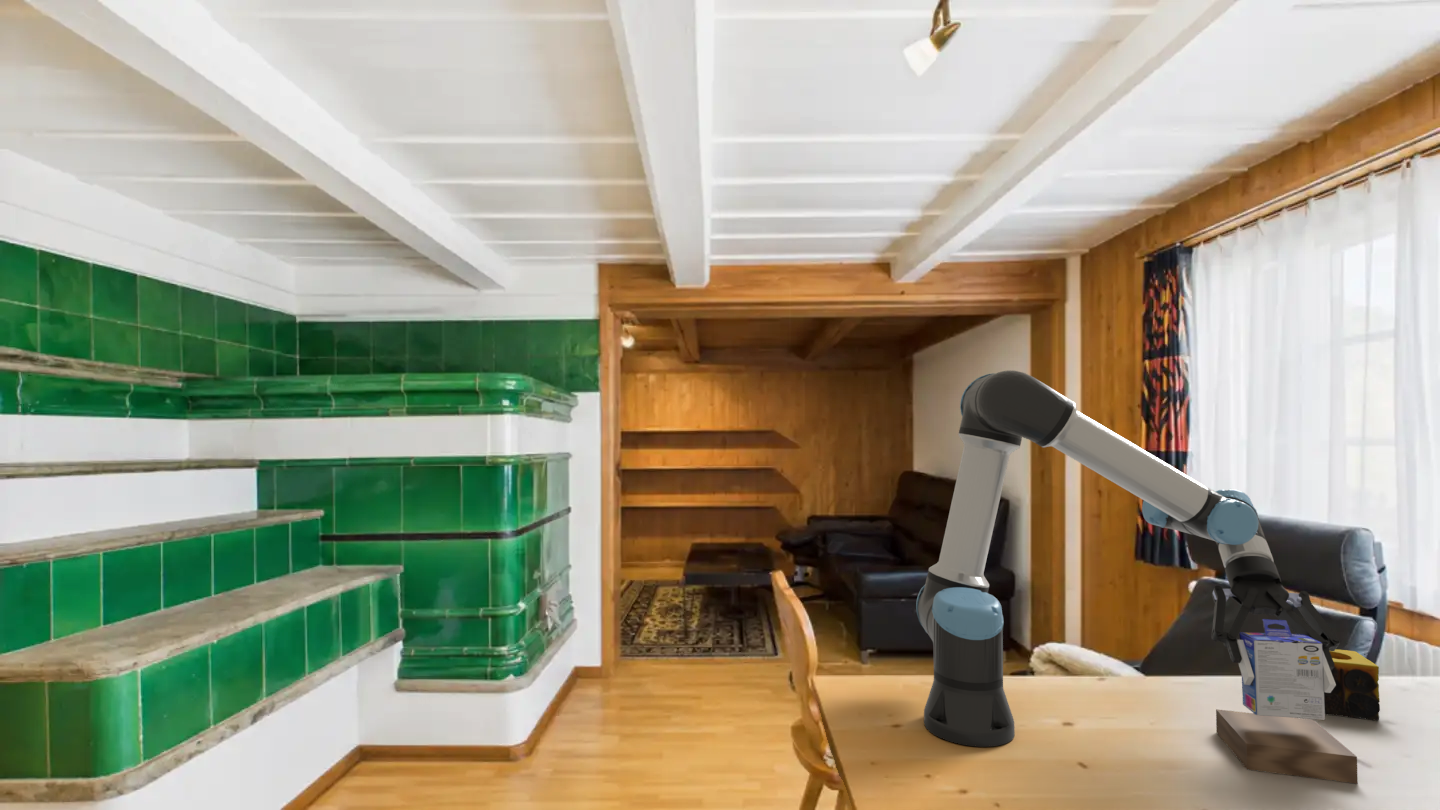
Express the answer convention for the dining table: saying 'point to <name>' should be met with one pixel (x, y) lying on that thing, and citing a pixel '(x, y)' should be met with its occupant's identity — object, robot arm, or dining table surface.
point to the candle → (1353, 687)
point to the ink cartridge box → (1284, 673)
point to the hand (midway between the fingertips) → (1289, 684)
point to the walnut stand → (1286, 746)
